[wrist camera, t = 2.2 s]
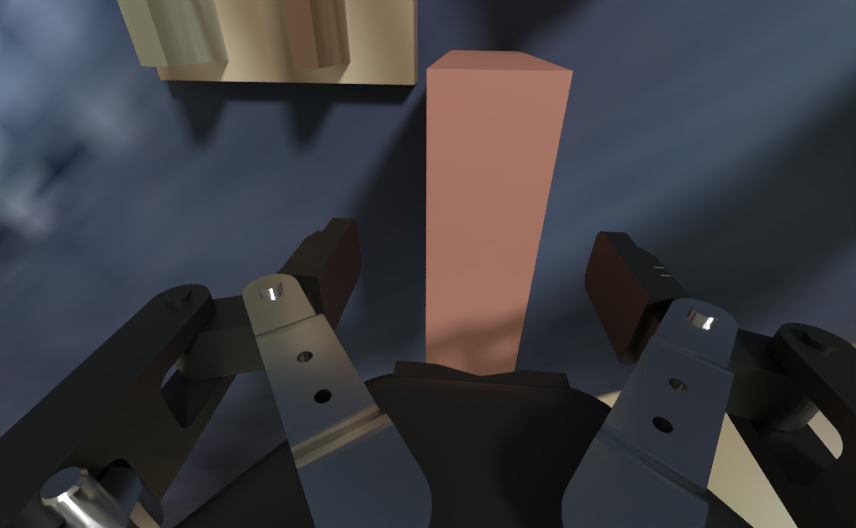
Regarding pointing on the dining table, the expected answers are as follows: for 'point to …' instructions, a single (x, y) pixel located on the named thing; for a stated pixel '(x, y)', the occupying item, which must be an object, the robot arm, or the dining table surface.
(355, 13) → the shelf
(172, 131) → the dining table surface
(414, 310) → the dining table surface
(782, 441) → the robot arm
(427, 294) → the tall salmon pink block
